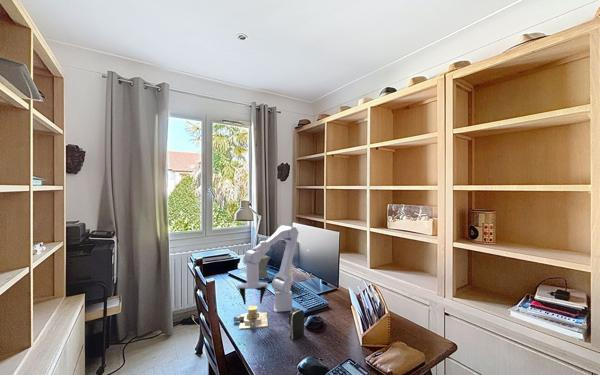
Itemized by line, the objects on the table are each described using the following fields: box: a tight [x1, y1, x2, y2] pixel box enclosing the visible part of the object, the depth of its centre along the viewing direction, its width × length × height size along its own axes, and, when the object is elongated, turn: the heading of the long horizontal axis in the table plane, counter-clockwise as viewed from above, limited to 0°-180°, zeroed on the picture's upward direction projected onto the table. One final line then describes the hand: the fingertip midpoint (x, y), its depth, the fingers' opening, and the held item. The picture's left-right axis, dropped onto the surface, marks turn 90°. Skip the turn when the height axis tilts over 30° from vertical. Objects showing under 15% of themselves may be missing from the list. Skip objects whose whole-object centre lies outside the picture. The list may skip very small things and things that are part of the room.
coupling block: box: [247, 305, 258, 320], centre depth 127 cm, size 4×5×6 cm
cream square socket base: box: [233, 311, 269, 331], centre depth 126 cm, size 16×15×3 cm
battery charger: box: [288, 308, 305, 341], centre depth 115 cm, size 7×4×11 cm, turn 134°
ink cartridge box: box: [281, 263, 294, 285], centre depth 169 cm, size 9×5×15 cm, turn 148°
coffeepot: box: [258, 254, 272, 279], centre depth 187 cm, size 15×9×18 cm, turn 88°
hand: (252, 303), depth 128 cm, fingers open, 7 cm apart
